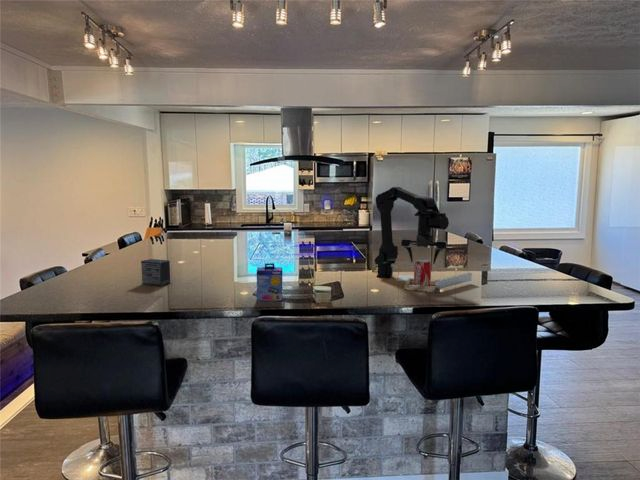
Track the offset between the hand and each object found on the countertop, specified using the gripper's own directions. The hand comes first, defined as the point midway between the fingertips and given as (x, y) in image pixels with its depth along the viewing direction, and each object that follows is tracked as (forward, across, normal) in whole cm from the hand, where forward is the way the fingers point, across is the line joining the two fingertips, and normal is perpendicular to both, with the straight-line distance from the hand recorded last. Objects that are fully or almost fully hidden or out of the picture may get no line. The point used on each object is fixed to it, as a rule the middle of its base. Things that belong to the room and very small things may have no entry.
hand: (422, 263), depth 185 cm
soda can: (+11, 0, 0) cm, 11 cm away
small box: (+11, -110, -37) cm, 117 cm away
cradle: (+11, 0, 0) cm, 11 cm away
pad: (+11, -7, +13) cm, 18 cm away
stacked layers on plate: (+11, -34, -35) cm, 50 cm away
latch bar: (+9, +13, +4) cm, 16 cm away
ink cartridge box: (+11, -54, -40) cm, 68 cm away
